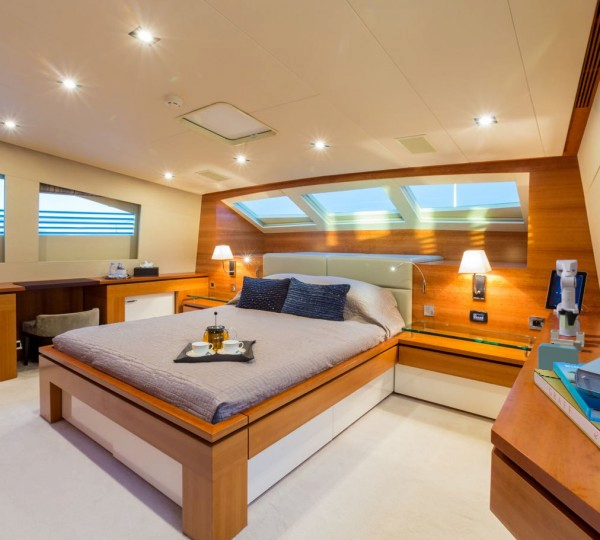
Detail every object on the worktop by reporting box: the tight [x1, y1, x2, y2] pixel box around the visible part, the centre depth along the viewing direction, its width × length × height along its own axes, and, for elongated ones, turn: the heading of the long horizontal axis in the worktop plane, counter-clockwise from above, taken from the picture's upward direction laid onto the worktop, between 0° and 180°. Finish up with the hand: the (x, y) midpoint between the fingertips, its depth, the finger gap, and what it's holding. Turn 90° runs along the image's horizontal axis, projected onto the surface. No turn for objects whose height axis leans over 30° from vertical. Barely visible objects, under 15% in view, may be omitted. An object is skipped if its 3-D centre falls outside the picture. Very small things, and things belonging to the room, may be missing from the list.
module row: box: [550, 329, 585, 348], centre depth 183 cm, size 10×14×6 cm
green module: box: [559, 315, 577, 329], centre depth 190 cm, size 4×6×7 cm
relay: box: [573, 340, 583, 352], centre depth 170 cm, size 5×3×4 cm, turn 140°
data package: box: [537, 342, 580, 371], centre depth 133 cm, size 12×4×12 cm, turn 48°
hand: (568, 324), depth 190 cm, fingers closed on green module, 4 cm apart
